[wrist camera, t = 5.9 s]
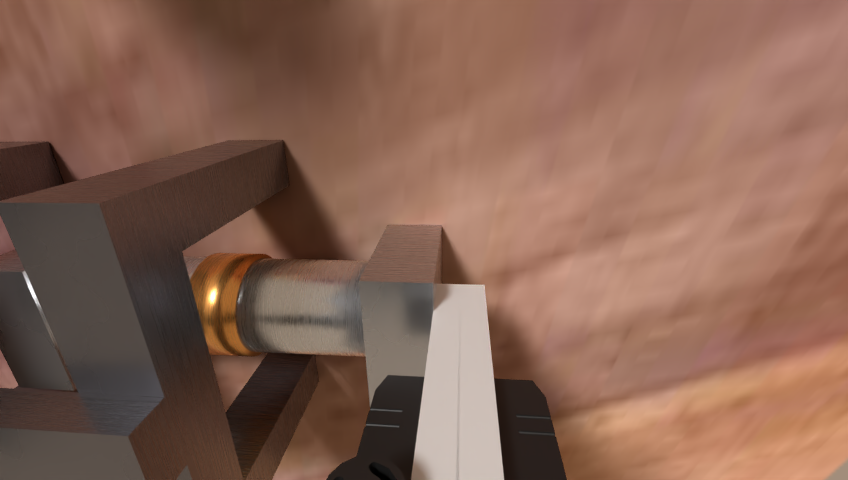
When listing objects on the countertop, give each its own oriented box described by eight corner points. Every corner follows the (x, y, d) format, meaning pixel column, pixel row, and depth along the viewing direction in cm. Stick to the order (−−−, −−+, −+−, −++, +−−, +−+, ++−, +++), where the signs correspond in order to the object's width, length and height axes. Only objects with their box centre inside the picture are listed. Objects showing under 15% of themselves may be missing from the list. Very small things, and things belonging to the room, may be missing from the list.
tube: (122, 315, 17) (19, 387, 13) (89, 220, 16) (-40, 270, 12) (441, 327, 16) (434, 410, 12) (441, 225, 15) (433, 282, 10)
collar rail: (92, 370, 19) (-222, 618, 10) (-1, 141, 15) (-646, 231, 6) (318, 381, 18) (182, 667, 9) (282, 140, 14) (-18, 243, 5)
